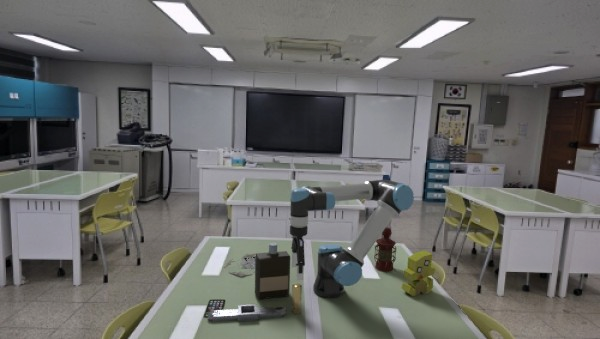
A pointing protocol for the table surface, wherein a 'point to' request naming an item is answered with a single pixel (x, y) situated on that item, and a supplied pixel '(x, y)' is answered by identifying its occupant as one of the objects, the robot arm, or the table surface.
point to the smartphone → (214, 306)
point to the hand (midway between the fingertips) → (297, 273)
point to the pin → (296, 298)
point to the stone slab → (244, 264)
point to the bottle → (272, 273)
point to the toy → (419, 273)
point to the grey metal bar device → (246, 313)
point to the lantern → (385, 252)
